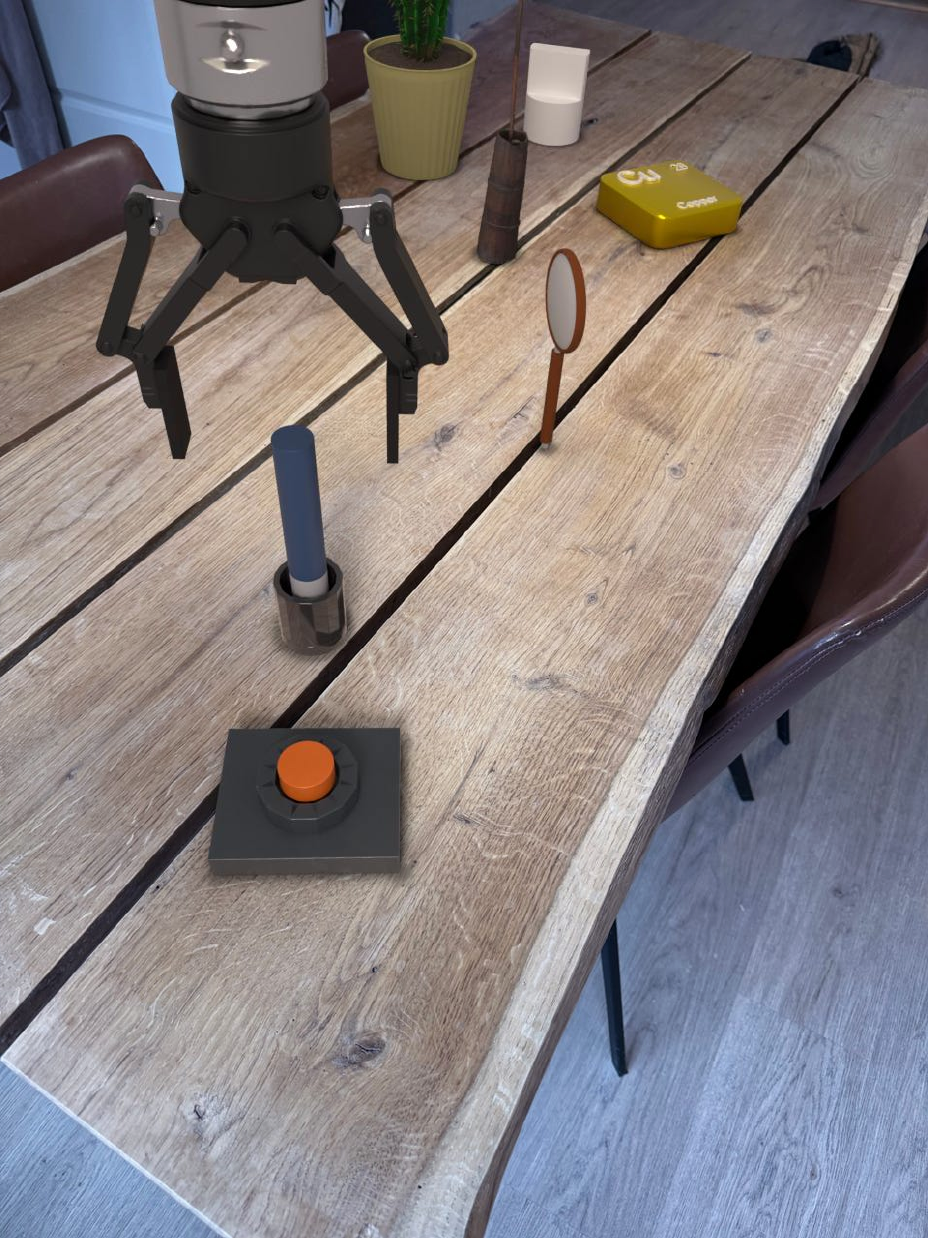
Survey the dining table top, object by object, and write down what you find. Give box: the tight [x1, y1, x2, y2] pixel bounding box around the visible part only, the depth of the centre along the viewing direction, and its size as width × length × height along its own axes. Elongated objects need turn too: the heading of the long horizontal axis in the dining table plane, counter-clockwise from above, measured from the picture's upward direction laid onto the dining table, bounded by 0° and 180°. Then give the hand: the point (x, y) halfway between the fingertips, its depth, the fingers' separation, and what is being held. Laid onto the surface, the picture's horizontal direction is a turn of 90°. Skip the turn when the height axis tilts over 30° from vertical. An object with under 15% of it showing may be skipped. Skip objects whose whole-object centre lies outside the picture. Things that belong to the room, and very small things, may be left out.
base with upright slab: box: [522, 42, 591, 147], centre depth 140 cm, size 9×9×12 cm
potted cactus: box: [363, 0, 477, 181], centre depth 123 cm, size 15×15×30 cm
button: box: [277, 741, 336, 802], centre depth 59 cm, size 4×4×2 cm
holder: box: [272, 556, 348, 656], centre depth 70 cm, size 5×5×6 cm
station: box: [207, 727, 402, 877], centre depth 61 cm, size 12×10×4 cm
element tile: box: [596, 159, 744, 250], centre depth 124 cm, size 15×15×5 cm
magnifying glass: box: [539, 247, 587, 450], centre depth 82 cm, size 9×2×20 cm, turn 13°
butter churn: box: [476, 0, 530, 265], centre depth 105 cm, size 9×10×28 cm
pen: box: [270, 424, 329, 599], centre depth 65 cm, size 3×3×18 cm
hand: (288, 449), depth 59 cm, fingers open, 13 cm apart
